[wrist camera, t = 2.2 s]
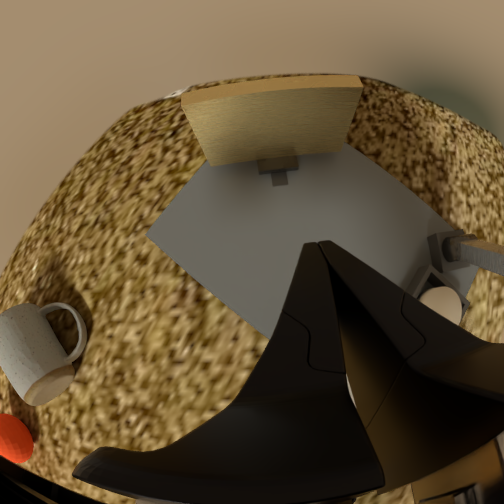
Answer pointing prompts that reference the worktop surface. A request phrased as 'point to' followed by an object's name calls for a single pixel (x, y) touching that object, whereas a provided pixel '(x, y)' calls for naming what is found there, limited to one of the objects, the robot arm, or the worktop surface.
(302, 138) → the brass paddle
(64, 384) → the ceramic mug
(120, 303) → the worktop surface
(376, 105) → the worktop surface
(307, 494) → the robot arm
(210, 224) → the panel
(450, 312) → the push button
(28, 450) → the red tomato
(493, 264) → the steel lever
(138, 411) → the worktop surface
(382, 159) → the worktop surface
